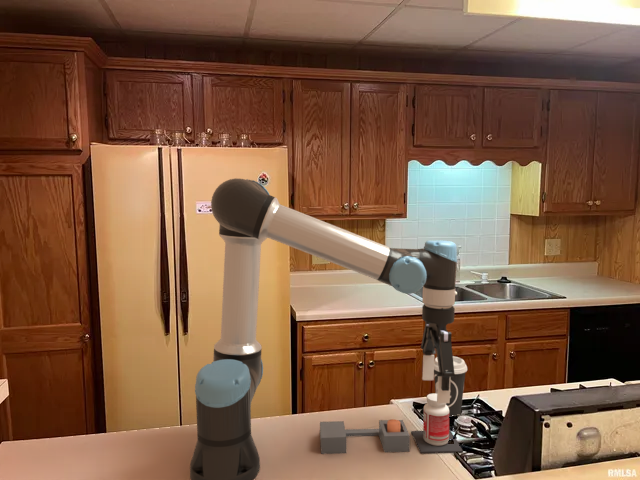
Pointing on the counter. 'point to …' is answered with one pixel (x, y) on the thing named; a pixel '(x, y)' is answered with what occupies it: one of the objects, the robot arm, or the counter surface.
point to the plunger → (393, 425)
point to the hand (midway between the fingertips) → (435, 390)
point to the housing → (336, 433)
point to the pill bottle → (435, 421)
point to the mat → (428, 448)
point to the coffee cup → (454, 384)
